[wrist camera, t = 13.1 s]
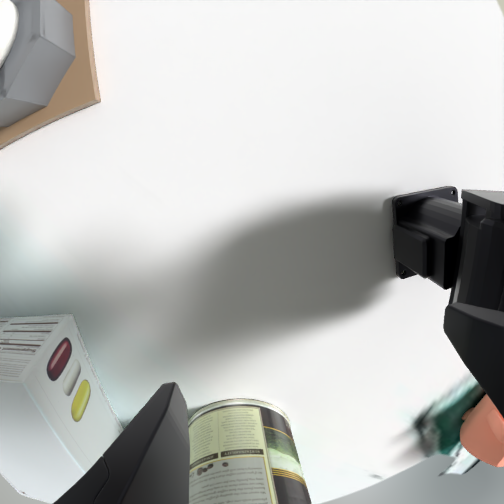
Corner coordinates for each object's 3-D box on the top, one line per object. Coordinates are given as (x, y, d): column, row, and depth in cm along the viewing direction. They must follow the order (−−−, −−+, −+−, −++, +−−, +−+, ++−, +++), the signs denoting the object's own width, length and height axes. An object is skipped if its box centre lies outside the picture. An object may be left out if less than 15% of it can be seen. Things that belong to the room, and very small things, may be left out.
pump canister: (88, -19, 14) (58, -56, 8) (100, 101, 17) (60, 85, 11) (-20, 43, 13) (-62, 29, 8) (-14, 157, 17) (-64, 163, 11)
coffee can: (309, 407, 26) (355, 535, 13) (264, 465, 29) (285, 572, 16) (202, 385, 24) (201, 539, 11) (173, 449, 27) (167, 568, 13)
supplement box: (137, 447, 27) (125, 519, 18) (42, 438, 26) (18, 495, 17) (75, 310, 21) (21, 384, 13) (-25, 316, 21) (-79, 367, 12)
